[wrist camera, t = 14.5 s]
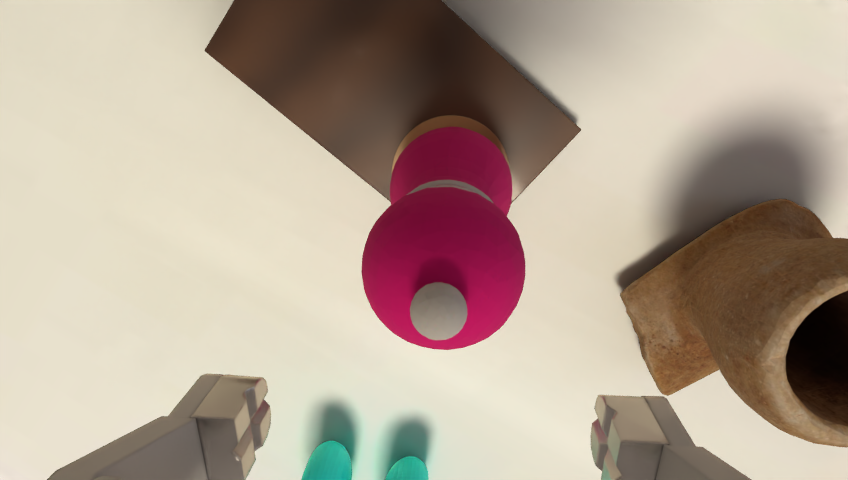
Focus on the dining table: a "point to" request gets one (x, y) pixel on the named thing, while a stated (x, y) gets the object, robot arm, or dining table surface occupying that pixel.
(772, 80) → the dining table surface
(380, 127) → the serving board
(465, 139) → the pepper mill
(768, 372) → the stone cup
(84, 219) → the dining table surface
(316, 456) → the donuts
